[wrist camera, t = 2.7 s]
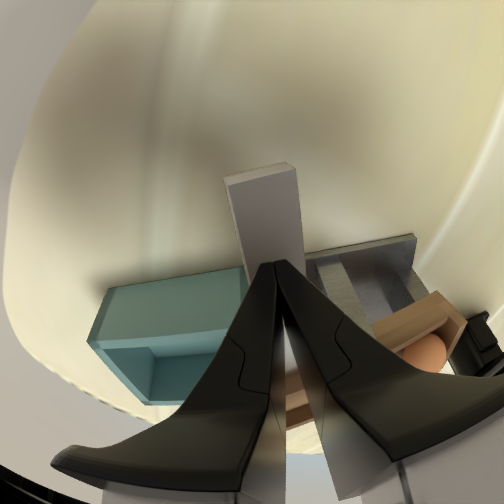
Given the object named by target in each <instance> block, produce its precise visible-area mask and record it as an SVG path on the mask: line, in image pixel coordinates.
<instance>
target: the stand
mask: <svg viewBox="0 0 504 504" xmlns="http://www.w3.org/2000/svg"><path fill="white" fill-rule="evenodd" d="M416 243H417V238H416V236H415V235H414V234H410V235H404V236H399V237H394V238H389V239H384V240H378V241H373V242H368V243H362V244H357V245H352V246H346V247H341V248H335V249H330V250H325V251H319V252H314V253H308V254H304V255H305V268H306V278H307V279H308V280H310V281H311V282H312V283H313V284H314V285H315V286H316V287H317V288H318V289H319V290H320V291H322V292H323V293H324V294H325V295H326V296H327V297H328V298H329V299H330V300H331V301H332V302H333V303H334V304H336V305H337V306H338V307H339V308H340V309H341V310H342V311H343V312H344V313H345V314H346V315H348V316H349V317H350V318H351V319H352V320H353V321H354V322H355V323H356V324H357V325H358V326H360V327H361V328H362V329H363V330H364V331H365V332H367V333H368V334H369V335H371V336H372V337H373V338H375V339H376V337H375V334H374V332H373V330H372V327H371V325H370V324H372V323H374V322H376V321H378V320H380V319H383V318H385V317H387V316H389V315H391V314H393V313H395V312H397V311H399V310H401V309H403V308H405V307H407V306H409V305H411V304H413V303H415V302H417V301H418V300H420V299H422V298H424V297H426V296H428V295H430V293H429V292H428V290H427V289H426V287H425V286H424V284H423V283H422V281H421V280H420V279H419V277H418V276H417V274H416V273H415V272H414V270H413V269H412V265H413V260H414V254H415V249H416Z"/></svg>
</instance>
